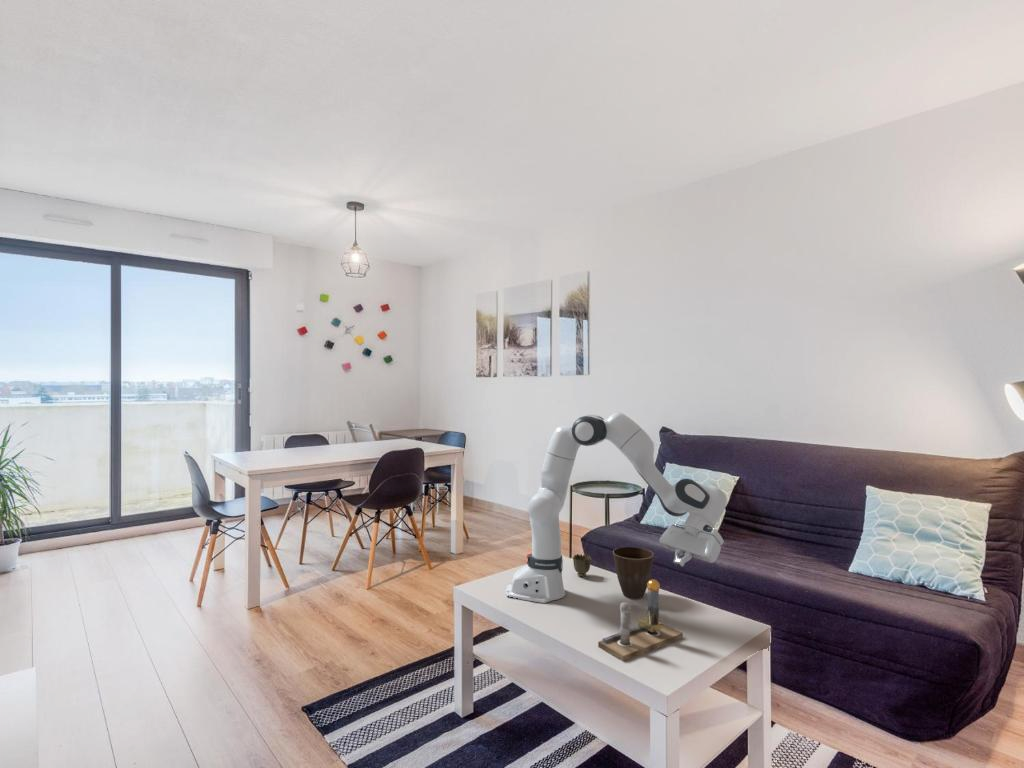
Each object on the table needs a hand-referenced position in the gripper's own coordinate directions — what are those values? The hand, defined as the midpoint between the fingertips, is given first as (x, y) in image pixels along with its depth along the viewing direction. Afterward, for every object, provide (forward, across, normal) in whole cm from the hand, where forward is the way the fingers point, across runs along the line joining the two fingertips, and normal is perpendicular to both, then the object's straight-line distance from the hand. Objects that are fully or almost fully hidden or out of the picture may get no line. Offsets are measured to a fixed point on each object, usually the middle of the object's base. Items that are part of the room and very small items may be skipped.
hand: (677, 564), depth 165 cm
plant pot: (+9, -27, +21) cm, 35 cm away
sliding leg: (+21, -1, +5) cm, 22 cm away
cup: (+10, -53, +19) cm, 57 cm away
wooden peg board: (+26, 0, +3) cm, 27 cm away
